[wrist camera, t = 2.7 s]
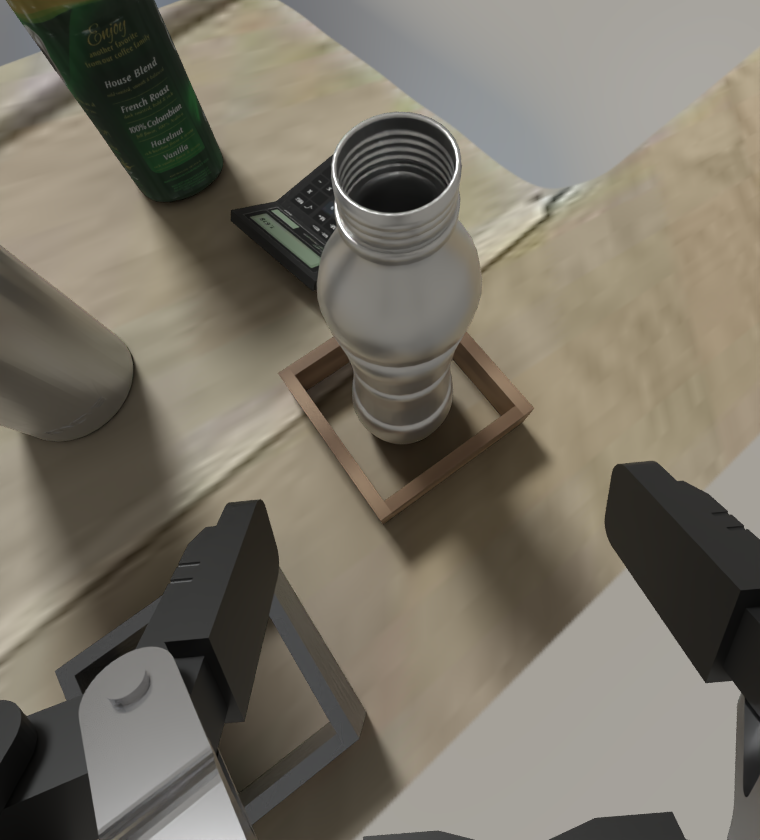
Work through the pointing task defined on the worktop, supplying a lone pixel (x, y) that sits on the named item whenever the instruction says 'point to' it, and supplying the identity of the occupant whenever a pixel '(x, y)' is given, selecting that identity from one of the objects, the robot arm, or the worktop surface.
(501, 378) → the wooden square tray
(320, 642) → the gray square tray
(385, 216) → the silver metal bottle
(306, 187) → the calculator
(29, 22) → the coffee jar
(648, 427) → the worktop surface
